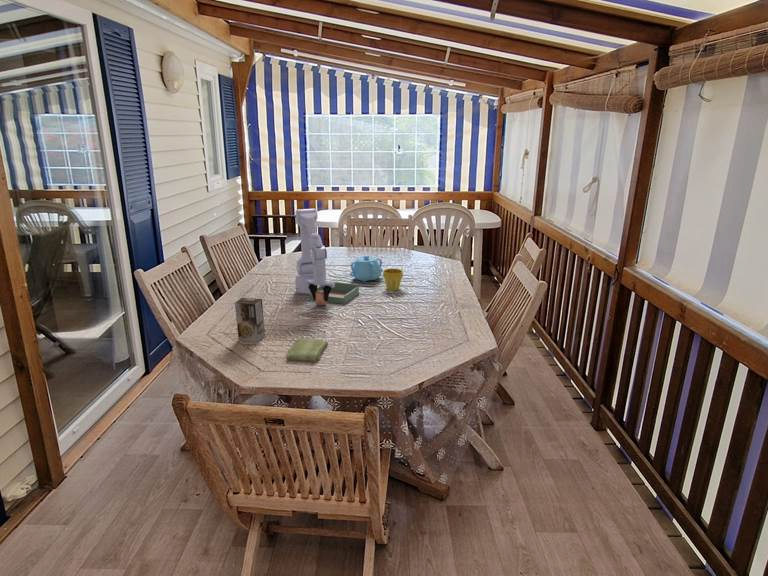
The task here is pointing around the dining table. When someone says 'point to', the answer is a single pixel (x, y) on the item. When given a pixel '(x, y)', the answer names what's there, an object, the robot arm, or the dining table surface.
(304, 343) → the washcloth
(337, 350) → the dining table surface
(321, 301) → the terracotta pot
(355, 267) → the decorative pot
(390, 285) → the plant pot
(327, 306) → the mat
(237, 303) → the coffee box
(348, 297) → the green shallow tray
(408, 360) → the dining table surface
